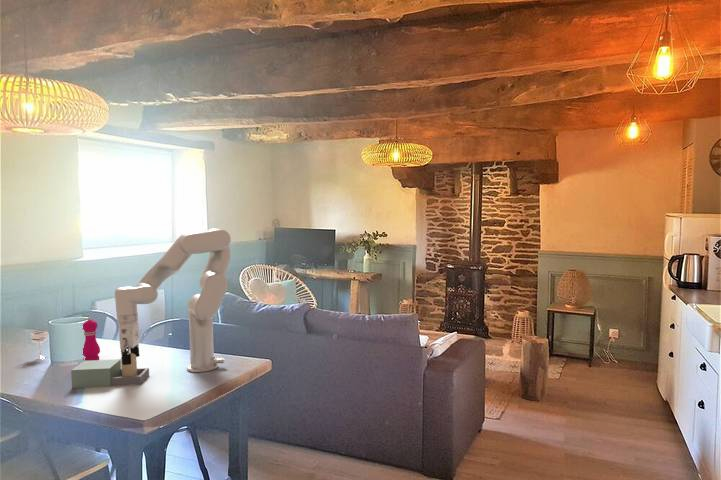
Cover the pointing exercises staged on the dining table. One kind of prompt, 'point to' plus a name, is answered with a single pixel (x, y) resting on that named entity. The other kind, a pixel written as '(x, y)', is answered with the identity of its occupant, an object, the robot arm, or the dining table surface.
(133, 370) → the candle
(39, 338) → the wineglass
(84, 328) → the pepper mill
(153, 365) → the dining table surface
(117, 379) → the green boxy piece
